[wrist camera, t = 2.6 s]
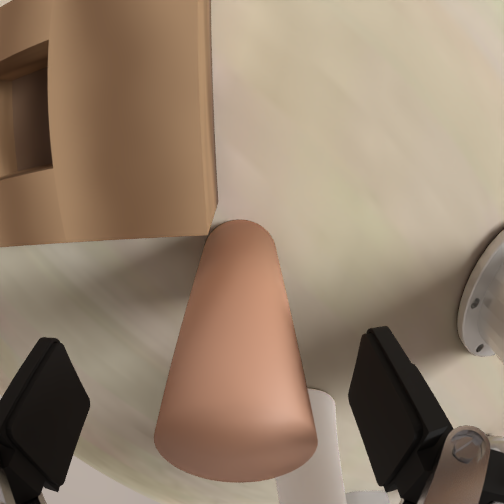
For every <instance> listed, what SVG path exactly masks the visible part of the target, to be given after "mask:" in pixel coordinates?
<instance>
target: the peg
mask: <svg viewBox="0 0 504 504" xmlns="http://www.w3.org/2000/svg"><path fill="white" fill-rule="evenodd" d="M154 443H155V446H156V448H157V450H158V451H159V453H160V454H161V455H162V456H163V457H164V458H165V459H166V460H167V461H168V462H169V463H171V464H172V465H174V466H175V467H177V468H179V469H181V470H183V471H185V472H187V473H189V474H192V475H195V476H198V477H202V478H205V479H210V480H215V481H222V482H255V481H262V480H268V479H272V478H276V477H279V476H282V475H285V474H287V473H290V472H292V471H294V470H296V469H297V468H299V467H301V466H302V465H303V464H305V463H306V462H307V461H308V460H309V459H310V458H311V457H312V456H313V454H314V453H315V451H316V448H317V445H318V439H317V433H316V428H315V423H314V418H313V414H312V409H311V404H310V399H309V394H308V389H307V385H306V380H305V375H304V371H303V366H302V361H301V357H300V352H299V348H298V343H297V338H296V334H295V329H294V325H293V321H292V316H291V312H290V307H289V303H288V298H287V294H286V290H285V285H284V281H283V277H282V273H281V268H280V264H279V260H278V256H277V251H276V247H275V243H274V241H273V239H272V237H271V235H270V234H269V233H268V232H267V231H266V230H265V229H264V228H263V227H262V226H260V225H258V224H257V223H254V222H251V221H248V220H232V221H228V222H225V223H223V224H221V225H219V226H218V227H217V228H215V229H214V230H213V231H212V232H211V234H210V235H209V236H208V238H207V240H206V243H205V246H204V249H203V252H202V256H201V259H200V262H199V266H198V269H197V273H196V276H195V279H194V283H193V286H192V290H191V293H190V297H189V300H188V304H187V307H186V311H185V315H184V318H183V322H182V325H181V329H180V333H179V336H178V340H177V344H176V348H175V352H174V355H173V359H172V363H171V367H170V371H169V375H168V379H167V383H166V387H165V391H164V395H163V399H162V403H161V407H160V412H159V416H158V420H157V424H156V429H155V433H154Z"/></svg>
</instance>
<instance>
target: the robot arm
mask: <svg viewBox="0 0 504 504" xmlns="http://www.w3.org/2000/svg"><path fill="white" fill-rule="evenodd" d="M457 328H458V334H459V337H460V339H461V341H462V343H463V345H464V346H465V347H466V348H467V349H468V351H469V352H470V353H472V354H473V355H475V356H480V357H485V356H492V355H495V354H496V356H497V357H498V358H499V359H500V360H501V362H502V363H503V364H504V230H503V231H502V232H500V233H499V234H498V235H497V237H496V238H495V239H494V240H493V241H492V242H491V243H490V245H489V246H488V247H487V249H486V250H485V252H484V253H483V254H482V256H481V257H480V259H479V261H478V262H477V264H476V266H475V268H474V269H473V271H472V273H471V275H470V278H469V280H468V282H467V284H466V287H465V289H464V293H463V296H462V299H461V302H460V307H459V312H458V323H457ZM348 398H349V403H350V406H351V409H352V412H353V414H354V417H355V420H356V423H357V425H358V428H359V431H360V434H361V437H362V440H363V442H364V445H365V448H366V451H367V454H368V457H369V460H370V463H371V466H372V469H373V472H374V475H375V478H376V481H377V483H378V485H379V486H384V489H385V492H386V493H387V492H390V491H393V490H396V489H398V492H399V494H400V497H401V500H400V503H399V504H504V453H503V452H500V451H496V450H493V449H490V442H489V439H488V437H487V436H486V434H485V433H484V432H483V431H481V430H480V429H479V428H476V427H474V426H468V425H465V426H459V427H457V428H455V429H453V427H452V425H451V424H450V422H449V420H448V418H447V417H446V415H445V413H444V411H443V410H442V408H441V406H440V405H439V403H438V401H437V399H436V398H435V396H434V394H433V393H432V391H431V389H430V388H429V386H428V384H427V383H426V381H425V380H424V378H423V376H422V375H421V373H420V372H419V370H418V368H417V367H416V366H415V365H414V364H412V363H411V362H410V360H409V359H408V357H407V355H406V354H405V352H404V351H403V349H402V348H401V346H400V344H399V343H398V341H397V340H396V338H395V337H394V335H393V334H392V332H391V331H390V329H389V328H388V327H387V326H383V327H376V328H370V329H368V331H367V334H363V335H362V338H361V342H360V347H359V352H358V356H357V360H356V365H355V369H354V373H353V377H352V381H351V385H350V389H349V393H348ZM89 408H90V399H89V397H88V395H87V393H86V391H85V389H84V387H83V385H82V384H81V382H80V380H79V377H78V375H77V373H76V371H75V369H74V367H73V365H72V363H71V361H70V358H69V356H68V354H67V352H66V349H65V347H64V345H63V344H62V343H60V341H59V340H58V339H56V338H46V337H42V338H40V339H39V340H38V342H37V343H36V345H35V346H34V348H33V349H32V351H31V352H30V354H29V355H28V357H27V358H26V360H25V361H24V363H23V364H22V366H21V367H20V369H19V371H18V372H17V374H16V375H15V377H14V378H13V380H12V382H11V383H10V385H9V387H8V388H7V390H6V392H5V393H4V395H3V397H2V398H1V400H0V504H47V503H46V501H45V499H44V497H43V494H42V492H41V491H42V488H43V487H45V488H47V489H50V490H53V491H56V492H58V491H59V487H60V486H61V485H63V483H64V481H65V478H66V475H67V472H68V469H69V466H70V462H71V459H72V456H73V453H74V450H75V447H76V445H77V442H78V439H79V436H80V433H81V430H82V427H83V425H84V422H85V419H86V416H87V414H88V411H89Z"/></svg>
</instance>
